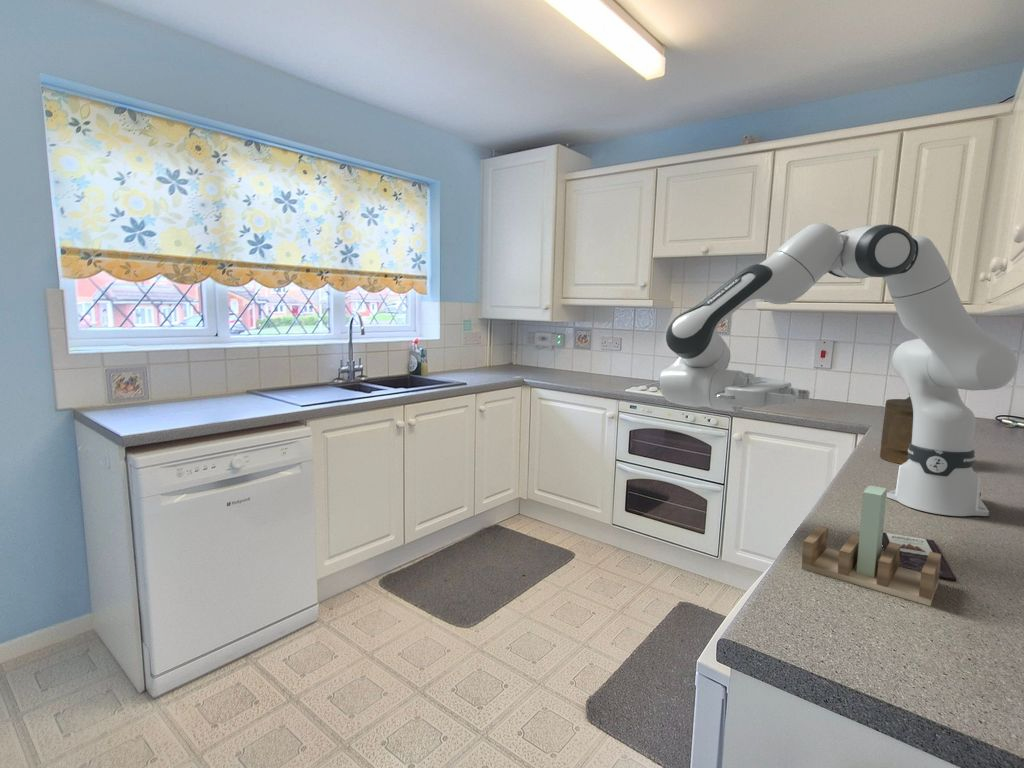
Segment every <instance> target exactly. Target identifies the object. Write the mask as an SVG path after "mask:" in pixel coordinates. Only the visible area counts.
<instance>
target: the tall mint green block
mask: <svg viewBox="0 0 1024 768" xmlns="http://www.w3.org/2000/svg"><path fill="white" fill-rule="evenodd" d="M886 498H887V488H886V487H883V486H882V487H881V486H876V485H868V486H867V487H866V488H865V489H864V491H863V492H862V500H861V501H862V502H861V514H860V525H859V526H860V527H859V535H860V536H859V548H858V560H857V573H860V574H864V575H867V576H871V577H874V576H875V575H876V573H877V571H878V561H879V559H880V558H881V556H882V549H883V547H882V536H883V533H884V523H885V512H886V502H887V499H886Z"/></svg>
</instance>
